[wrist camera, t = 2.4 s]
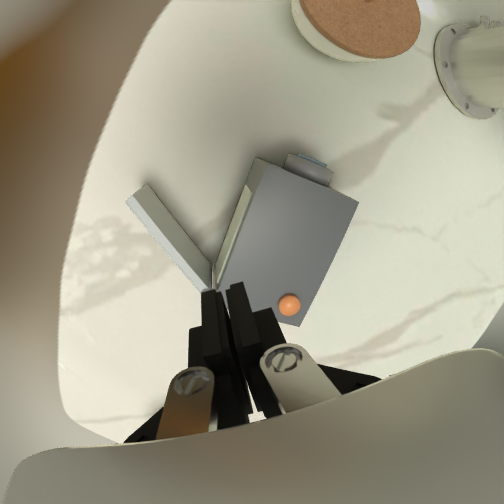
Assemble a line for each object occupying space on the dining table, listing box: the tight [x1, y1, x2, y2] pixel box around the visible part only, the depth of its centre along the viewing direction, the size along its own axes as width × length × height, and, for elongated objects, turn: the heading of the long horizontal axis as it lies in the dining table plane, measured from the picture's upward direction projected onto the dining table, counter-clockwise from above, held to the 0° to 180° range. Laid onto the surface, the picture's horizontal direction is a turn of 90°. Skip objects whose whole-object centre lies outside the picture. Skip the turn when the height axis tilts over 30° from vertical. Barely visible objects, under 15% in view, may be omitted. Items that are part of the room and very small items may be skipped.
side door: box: [125, 184, 212, 293], centre depth 26 cm, size 10×1×6 cm, turn 34°
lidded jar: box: [291, 0, 421, 62], centre depth 19 cm, size 11×11×9 cm
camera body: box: [213, 153, 359, 327], centre depth 27 cm, size 14×8×7 cm, turn 159°
